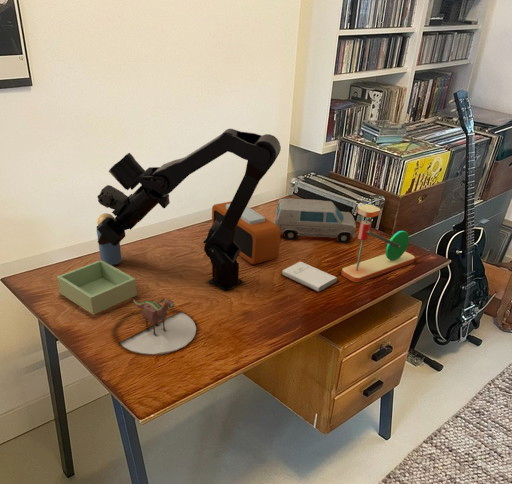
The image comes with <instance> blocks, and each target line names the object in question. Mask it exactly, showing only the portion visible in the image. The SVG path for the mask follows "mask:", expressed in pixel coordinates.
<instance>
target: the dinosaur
mask: <svg viewBox="0 0 512 484" xmlns="http://www.w3.org/2000/svg"><path fill="white" fill-rule="evenodd" d="M132 301H133V303H134V305H135V306H136V307H137V308H139V309H142V310H141V314H142V315H141V316H142V318H143V319H145V326H146V328H144V329H141V330H140V331H138V332H137V333H135V334H133V335H130V336H129V337H127V338H124V339H123V340H120V341H119V342H118V344H119V345H121V347H122V348H124V349H125V350H128V351H130V352H132V353H136V354H140V355H149V356H155V355H166V354H169V353H174V352H177V351H179V350H181V349H183V348H185V347H186V346H188V345H189V344H190V343H192V341H193V340H194V338H195V336H196V333H197V326H196V324H195V321H194V320H193V319H192V318H191V317H190V316H189V315H187V314H185V313H184V312H182V311H178V312H176V313H173V314H172V315H170V316H168V309H169V308H170V309H174V308H175V306H176V304H175V302H174V301H173V300H171V299H170V298H161V299H160V300H158V301H153V300H150V299H149V300H144V301H141V302H140V301H139V302H138V301H136V300H135V299H134V298H132ZM162 304H163V305H162ZM149 322H150V323H151V324H152V325H150V326H148V325H149V324H148V323H149Z"/></svg>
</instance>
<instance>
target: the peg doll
mask: <svg viewBox="0 0 512 484" xmlns="http://www.w3.org/2000/svg"><path fill="white" fill-rule="evenodd" d="M107 217H108V218H112V219H113V220H114V218H115V216H113V215H112V214H111V213H108V212H104V213H101V214H100V215H99V216H98V217H97V220H96V221H97V222H96V223H97V226H98V225H99V224H100V223H101V222H102V221H103V220H104V219H105V218H107ZM114 221H115V220H114ZM115 222H116V221H115ZM96 236H97V241H98V240H99V238H100V236H101V233H100V232H99V231H98V230H97V229H96ZM97 244H98V250H99V258H100V259H99V260H102V261H104V262H106V263H108V264H110V265H112V266H115V265H118V264H120V263H121V262H122V251H121V241H120V242H119V243H118V244H117V245H116V246H114V245H112V244H111V243H107V244H103V245H100V244H99V243H98V242H97Z"/></svg>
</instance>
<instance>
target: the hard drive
mask: <svg viewBox="0 0 512 484" xmlns="http://www.w3.org/2000/svg"><path fill="white" fill-rule="evenodd" d="M281 275H282V276H284V277H286V278H289V279H291V280H293V281H295V282H297V283H299V284H301V285H303V286H305V287H307V288H309V289H312V290H314V291H316V292H319V293H320V292H321V291H323V290H325V289H327V288H328V287H330V286H332V285H334V284H336V283H337V282H338V281H337V280H338V276H335V275H332V274H330V273H329V272H326V271H324V270H321V269H319V268H316V267H314V266H312V265H310V264H308V263H305V262H303V261H298V262H297V263H294V264H293V265H290V266H288V267H286V268H284V269H282V272H281Z"/></svg>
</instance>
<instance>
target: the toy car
mask: <svg viewBox="0 0 512 484" xmlns="http://www.w3.org/2000/svg"><path fill="white" fill-rule="evenodd" d="M273 223H274V224H276V225H277V226H278V227H279V229H280V234H281V235H280V236H282V235H283V238H284V239H285V240H287V241H296V240H297V239H298V237H310V238H311V237H313V238H333V239H334V238H336V241H337V242H338V243H342V244H348V243H349V242H350V241H351V238H352V239H355V237H356V233H355V231H356V227H357V226H356V220H355V218H354V216H353V214H352V213H351V212H350V211H341V210H340V209H339V208H338V207H337V206H336V205H335V204H334V202H333V201H331V200H322V199H305V198H279V199H278V203H277V206H276V209H275V217H274V220H273Z"/></svg>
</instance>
